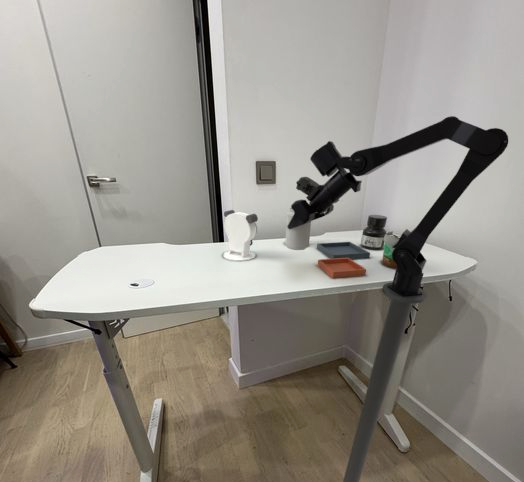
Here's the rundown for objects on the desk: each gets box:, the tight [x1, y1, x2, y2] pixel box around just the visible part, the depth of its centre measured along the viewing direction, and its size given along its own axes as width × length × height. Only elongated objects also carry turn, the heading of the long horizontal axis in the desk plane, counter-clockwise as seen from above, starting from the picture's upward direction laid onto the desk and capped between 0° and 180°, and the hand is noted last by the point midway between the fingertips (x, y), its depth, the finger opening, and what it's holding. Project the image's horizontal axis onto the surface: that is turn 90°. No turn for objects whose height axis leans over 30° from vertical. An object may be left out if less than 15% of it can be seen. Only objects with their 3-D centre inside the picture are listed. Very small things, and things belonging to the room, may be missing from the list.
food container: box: [381, 231, 401, 270], centre depth 96 cm, size 12×6×10 cm, turn 17°
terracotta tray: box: [316, 258, 368, 279], centre depth 93 cm, size 11×11×2 cm
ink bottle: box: [360, 214, 388, 251], centre depth 114 cm, size 10×9×12 cm
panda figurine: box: [223, 209, 259, 262], centre depth 100 cm, size 12×11×15 cm
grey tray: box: [316, 241, 371, 260], centre depth 109 cm, size 14×14×2 cm
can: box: [284, 207, 312, 251], centre depth 89 cm, size 8×8×12 cm
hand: (294, 225), depth 89 cm, fingers closed on can, 7 cm apart
